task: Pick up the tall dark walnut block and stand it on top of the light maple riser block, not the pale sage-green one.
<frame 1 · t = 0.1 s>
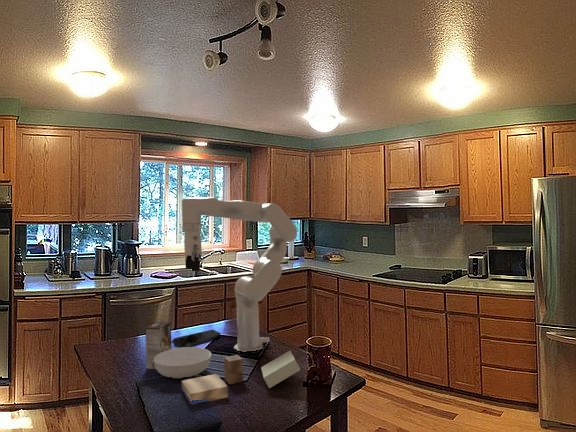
hand: (192, 269, 171), 37 cm above the table, tool pointing down, fingers open, 9 cm apart
coffee box: (159, 365, 165), on the table
walnut block: (233, 380, 148), on the table
maple riser block: (204, 395, 137), on the table
dark slate chunk: (196, 341, 197), on the table
serving bowl: (183, 374, 155), on the table
sage riser block: (282, 373, 145), point 3 cm above the table, tilted 27°
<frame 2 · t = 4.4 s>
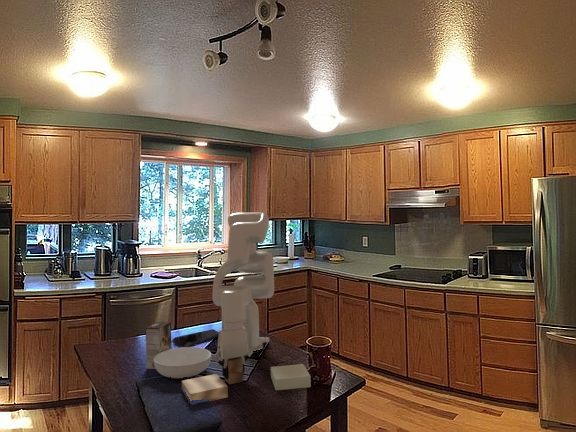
hand: (233, 375, 148), 2 cm above the table, tool pointing down, fingers closed on walnut block, 5 cm apart
walnut block: (233, 380, 148), on the table, touching gripper
sage riser block: (290, 382, 146), on the table
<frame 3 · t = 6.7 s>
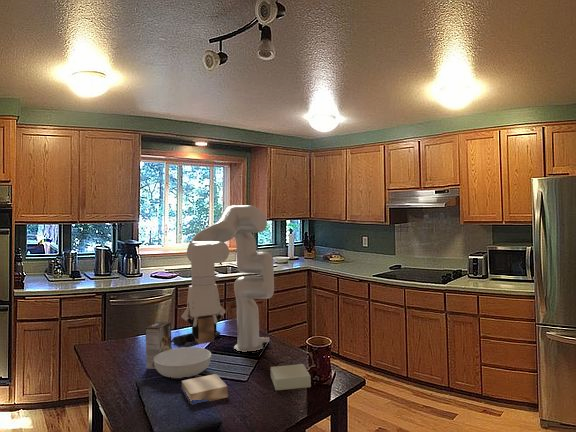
hand: (204, 335, 137), 19 cm above the table, tool pointing down, fingers closed on walnut block, 5 cm apart
walnut block: (204, 340, 137), point 18 cm above the table, touching gripper
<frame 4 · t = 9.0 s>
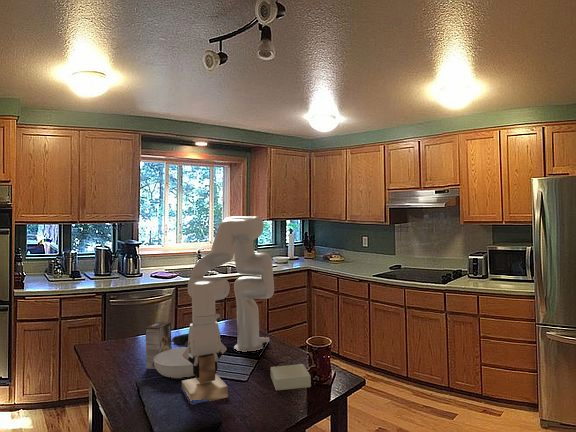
hand: (205, 374, 137), 7 cm above the table, tool pointing down, fingers closed on walnut block, 5 cm apart
walnut block: (205, 379, 137), point 5 cm above the table, touching gripper
when the fingers open (6 cm above the table, at t = 9.3 s): walnut block drops 1 cm, point 4 cm above the table.
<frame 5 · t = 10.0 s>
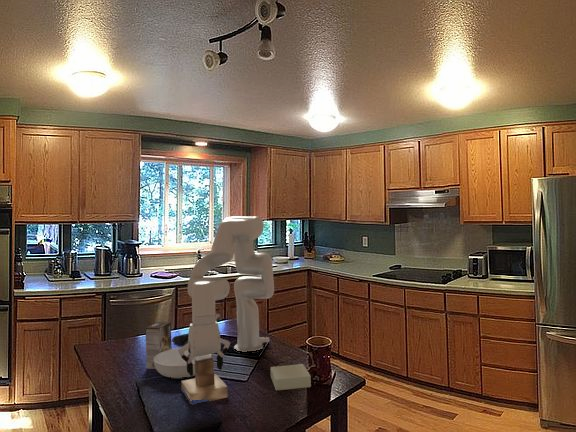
hand: (205, 371, 137), 8 cm above the table, tool pointing down, fingers open, 9 cm apart
walnut block: (205, 383, 137), point 4 cm above the table
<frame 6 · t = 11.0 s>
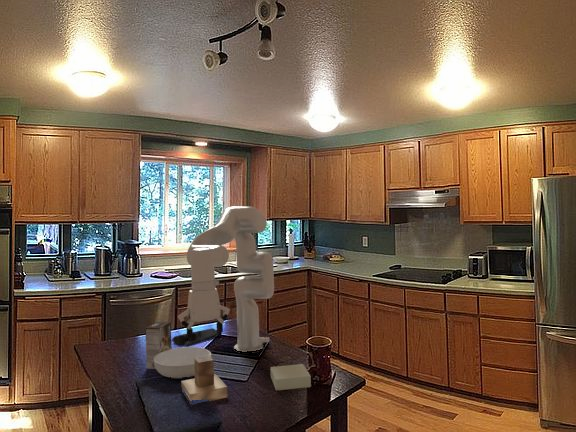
hand: (205, 337, 137), 19 cm above the table, tool pointing down, fingers open, 9 cm apart
walnut block: (204, 383, 137), point 3 cm above the table, touching maple riser block
maple riser block: (203, 395, 137), on the table, touching walnut block
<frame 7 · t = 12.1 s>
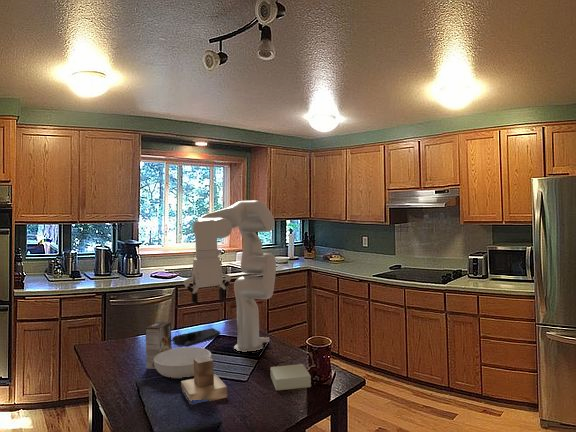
hand: (208, 302, 149), 28 cm above the table, tool pointing down, fingers open, 9 cm apart
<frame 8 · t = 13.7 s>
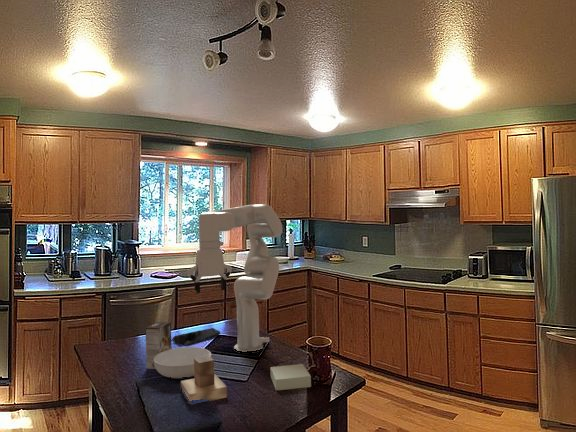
hand: (210, 291, 156), 30 cm above the table, tool pointing down, fingers open, 9 cm apart
at the end: walnut block inside the target area on the maple riser block (0.3 cm from its centre), point 4.0 cm above the maple riser block's base; walnut block tilted 1°; the gripper is holding nothing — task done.
